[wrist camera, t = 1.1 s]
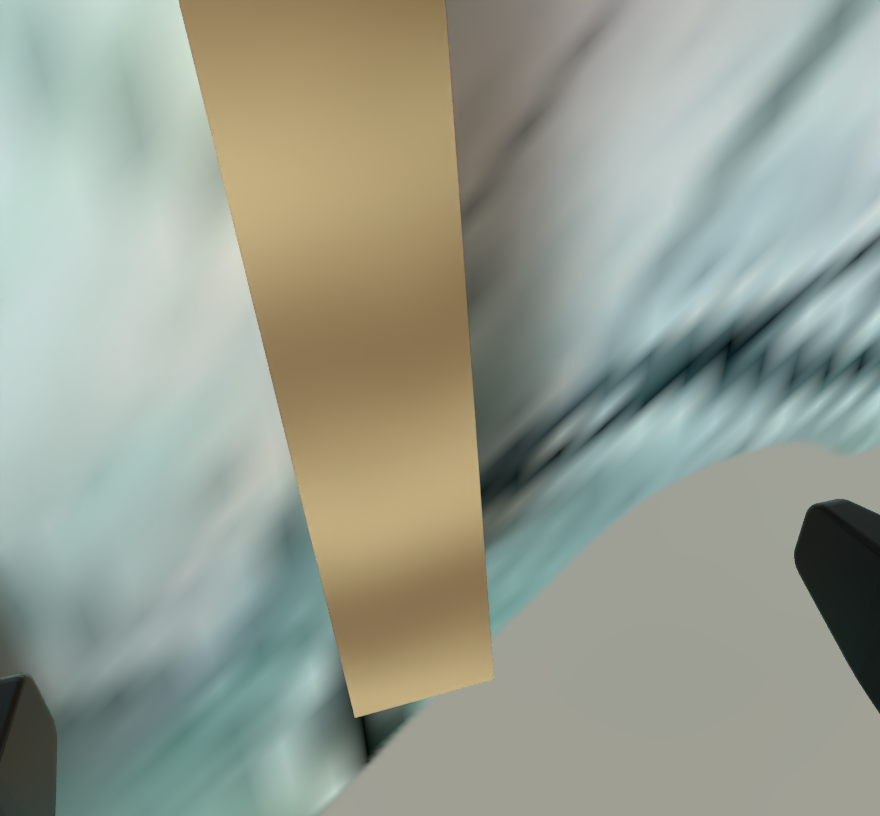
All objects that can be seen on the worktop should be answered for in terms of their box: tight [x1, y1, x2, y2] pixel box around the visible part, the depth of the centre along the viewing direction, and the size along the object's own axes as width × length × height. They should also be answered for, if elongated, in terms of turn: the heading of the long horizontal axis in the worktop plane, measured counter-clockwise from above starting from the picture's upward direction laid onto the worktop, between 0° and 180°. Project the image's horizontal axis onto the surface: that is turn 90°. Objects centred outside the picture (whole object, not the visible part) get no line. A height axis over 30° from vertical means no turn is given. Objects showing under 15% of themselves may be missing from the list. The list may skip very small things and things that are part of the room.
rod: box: [179, 0, 494, 718], centre depth 15 cm, size 20×4×4 cm, turn 5°
